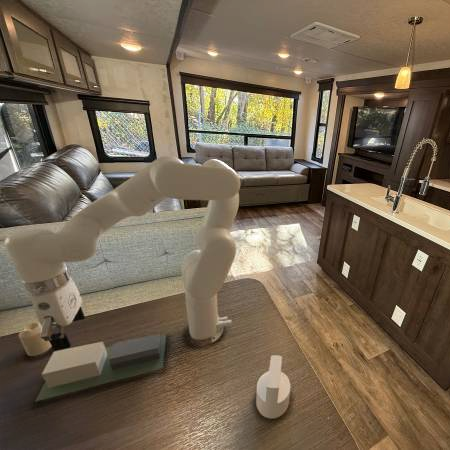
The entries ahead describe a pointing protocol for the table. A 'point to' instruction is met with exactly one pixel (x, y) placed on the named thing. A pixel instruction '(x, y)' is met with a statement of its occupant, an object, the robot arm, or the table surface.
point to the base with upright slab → (273, 390)
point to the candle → (33, 340)
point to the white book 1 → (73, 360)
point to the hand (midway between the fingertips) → (70, 333)
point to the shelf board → (105, 375)
